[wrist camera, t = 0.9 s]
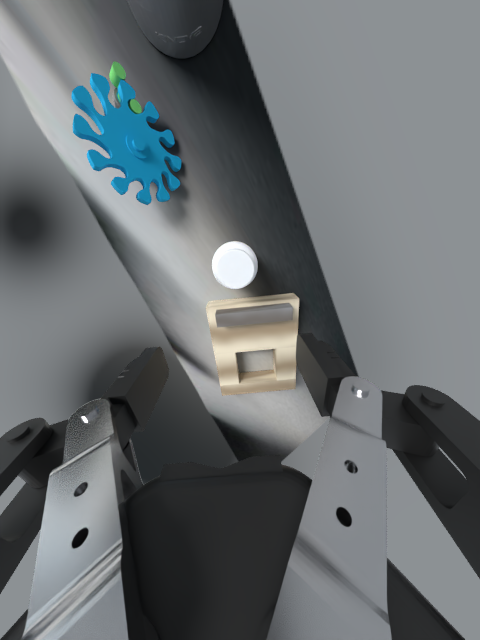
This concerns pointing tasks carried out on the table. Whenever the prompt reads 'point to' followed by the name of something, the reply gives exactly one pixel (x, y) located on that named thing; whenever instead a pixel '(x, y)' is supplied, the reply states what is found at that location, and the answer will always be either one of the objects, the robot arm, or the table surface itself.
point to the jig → (255, 340)
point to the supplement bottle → (234, 265)
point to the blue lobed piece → (126, 136)
